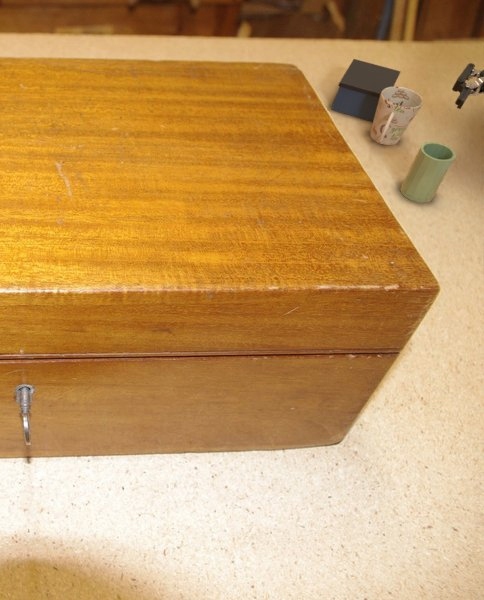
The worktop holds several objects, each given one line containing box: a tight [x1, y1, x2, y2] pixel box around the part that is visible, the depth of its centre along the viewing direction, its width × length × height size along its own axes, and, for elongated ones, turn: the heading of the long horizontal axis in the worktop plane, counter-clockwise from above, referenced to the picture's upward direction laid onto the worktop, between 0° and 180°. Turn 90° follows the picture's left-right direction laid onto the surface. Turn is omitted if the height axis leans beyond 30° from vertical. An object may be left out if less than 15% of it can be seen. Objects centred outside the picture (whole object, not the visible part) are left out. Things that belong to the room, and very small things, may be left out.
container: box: [331, 58, 401, 123], centre depth 161 cm, size 11×13×7 cm
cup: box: [399, 141, 457, 204], centre depth 137 cm, size 6×6×10 cm
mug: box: [369, 86, 424, 146], centre depth 149 cm, size 8×13×10 cm, turn 149°
